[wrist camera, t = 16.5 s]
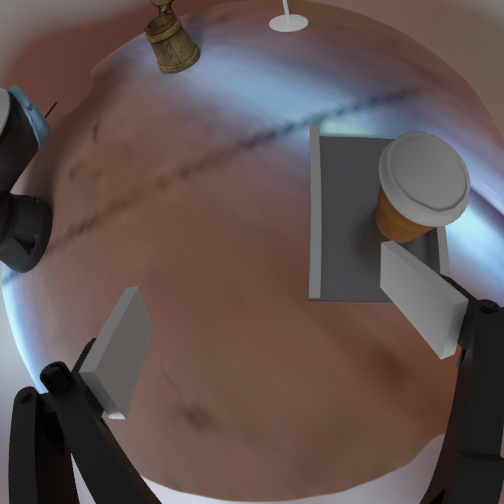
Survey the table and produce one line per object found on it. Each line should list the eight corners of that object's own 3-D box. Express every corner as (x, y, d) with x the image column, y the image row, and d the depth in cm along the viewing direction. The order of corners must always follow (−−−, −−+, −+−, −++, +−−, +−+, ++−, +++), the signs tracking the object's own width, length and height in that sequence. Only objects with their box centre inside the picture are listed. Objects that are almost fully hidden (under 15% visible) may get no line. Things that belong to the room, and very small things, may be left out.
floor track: (438, 301, 31) (450, 298, 27) (309, 300, 34) (308, 297, 31) (420, 145, 36) (426, 132, 33) (310, 139, 39) (309, 125, 36)
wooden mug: (210, 33, 51) (184, -30, 34) (193, 70, 48) (157, -1, 31) (174, 39, 53) (144, -18, 36) (154, 77, 50) (113, 14, 33)
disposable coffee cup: (346, 209, 35) (359, 157, 24) (399, 171, 35) (424, 114, 23) (395, 272, 32) (432, 243, 21) (445, 227, 32) (490, 185, 20)
